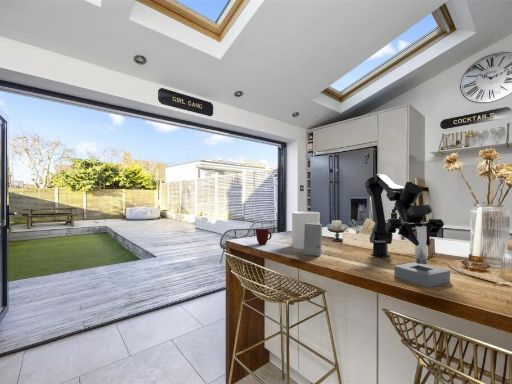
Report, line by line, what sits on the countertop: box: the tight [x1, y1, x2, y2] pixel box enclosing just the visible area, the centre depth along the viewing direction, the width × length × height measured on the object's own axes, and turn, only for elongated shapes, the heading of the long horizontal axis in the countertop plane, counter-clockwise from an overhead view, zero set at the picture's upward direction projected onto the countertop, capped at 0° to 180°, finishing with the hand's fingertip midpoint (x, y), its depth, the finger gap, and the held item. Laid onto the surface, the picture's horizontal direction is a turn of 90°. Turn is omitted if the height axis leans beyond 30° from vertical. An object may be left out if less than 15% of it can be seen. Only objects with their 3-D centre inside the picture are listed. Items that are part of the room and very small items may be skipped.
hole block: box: [393, 261, 451, 289], centre depth 88 cm, size 12×12×4 cm
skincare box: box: [303, 223, 323, 257], centre depth 126 cm, size 8×7×16 cm
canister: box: [291, 211, 321, 250], centre depth 145 cm, size 16×16×20 cm
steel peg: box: [414, 226, 428, 265], centre depth 88 cm, size 4×4×13 cm
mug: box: [255, 226, 272, 246], centre depth 152 cm, size 10×8×10 cm
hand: (423, 245), depth 87 cm, fingers closed on steel peg, 3 cm apart
